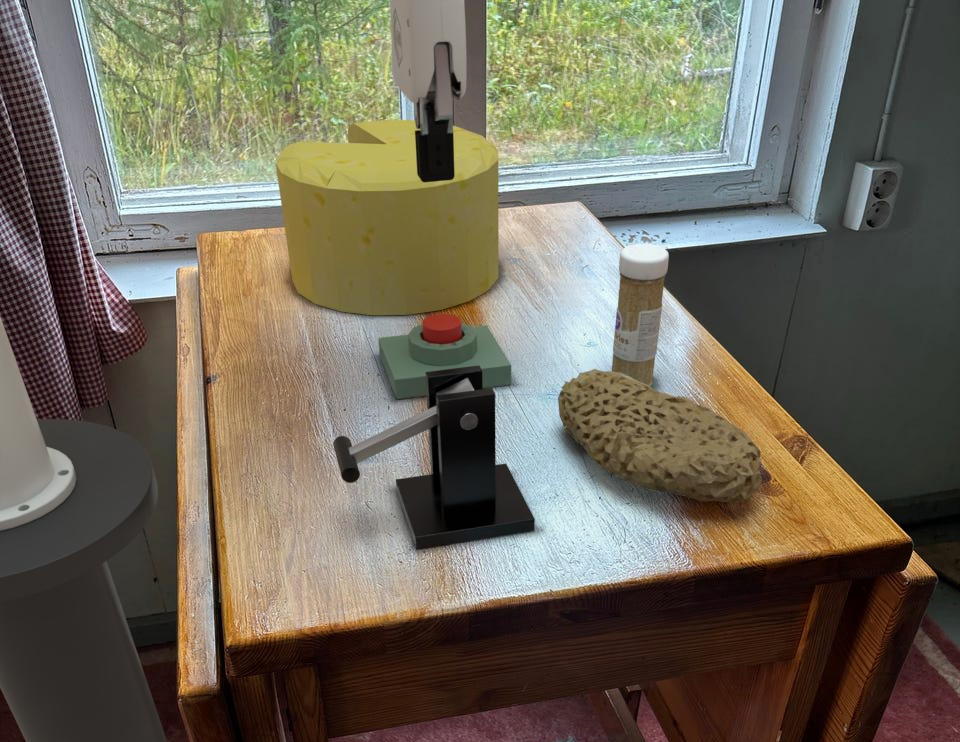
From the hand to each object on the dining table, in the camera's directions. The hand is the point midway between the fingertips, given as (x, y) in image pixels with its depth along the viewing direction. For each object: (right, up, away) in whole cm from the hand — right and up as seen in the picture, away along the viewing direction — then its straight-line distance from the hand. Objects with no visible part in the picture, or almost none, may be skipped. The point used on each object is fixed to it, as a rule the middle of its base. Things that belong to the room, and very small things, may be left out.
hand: (435, 178), depth 90 cm
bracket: (+3, -32, -7) cm, 33 cm away
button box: (0, -14, +13) cm, 19 cm away
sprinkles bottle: (+20, -17, +10) cm, 28 cm away
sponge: (+20, -27, -2) cm, 34 cm away
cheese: (-7, +4, +33) cm, 34 cm away
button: (0, -12, +10) cm, 15 cm away
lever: (-1, -27, -12) cm, 30 cm away
